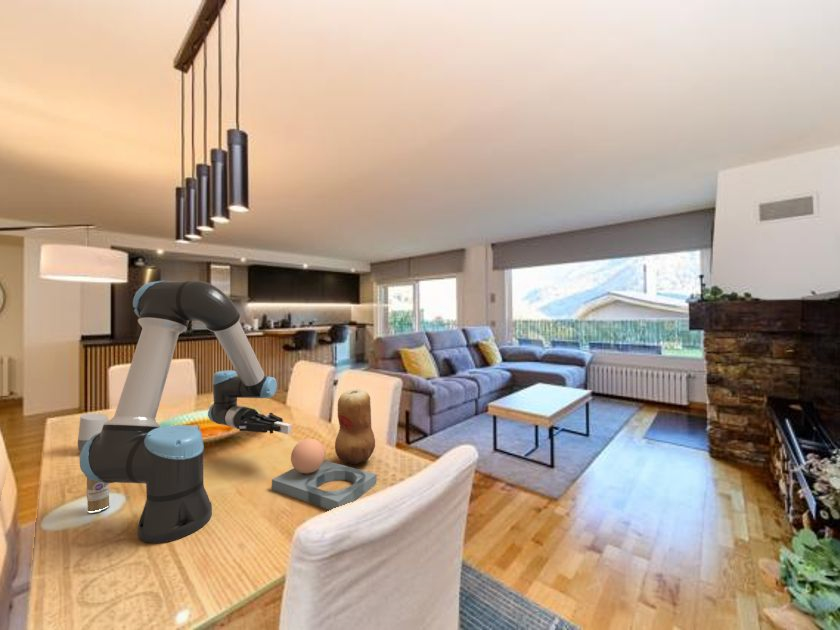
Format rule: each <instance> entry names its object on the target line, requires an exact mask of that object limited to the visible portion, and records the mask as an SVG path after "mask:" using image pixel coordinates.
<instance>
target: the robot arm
mask: <svg viewBox="0 0 840 630" xmlns="http://www.w3.org/2000/svg"><path fill="white" fill-rule="evenodd" d="M132 307H133V308H134V309H133V311H134V314H135V315H136V316H137V317H138V319H137V322H138V324H139V325H140V327H141V328H142V329H141V332H140V336H139V339H138V341H137V344H136V348H135V351H134V354H133V357H132V359H131V363H130V365H129V369H128V372H127V375H126V379H125V381H124V383H123V387H122V391H121V394H120V397H119V400H118V402H117V403H118V404H117V407H116V408H115V409H116V410H115V411H114V412H115V413H114V416H113V417H112V418H111V419H108V421H107V422H106V423H104V425H103V428H102V431H101V432H100V433H98V434H96V435H94V436H93V437H91V440H89V441H87V442H86V444H85V445H84V447H83V449H82V451H81V452H80V454H79V467H80V470H81V472H82V473H83V474H84V476H85V477H86V479H87V478H88V479H90V480H93V481H99V482H104V483H109V484H113V483H115V484H116V483H118V484H119V483H121V484H122V483H123V484H125V483H126V484H144V485H145V488H146V489H145V490H146V500H145V504H144V507H143V509H142V513H141V515H140V518H139V521H138V524H137V538H138V537H139V538H138V540H139V541H141V540H142V541H141V542H143V541H144V542H143V543H146V542H150V543H149V544H161V542H162V543H166V542H171V541H176V540H178V539H181V538H183V537H187V536H188V535H191V534H192V533H195V532H196V531H198V530H199V529H201V528H202V527H204V526H205V525H206V524H207V523H208V522H210V520H211V518H212V516H213V505H212V502H211V501H210V498H209V495H208V492H207V491H206V489H205V484H204V449H205V445H204V441H203V435H202V431H201V429H200V430H198V429H197V428H195V427H192V426H189V425H187V424H186V425H185V424H174V425H165V426H161V425H160V424H159V423H158V422H157V420H156V418H157V413H158V412H159V411H158V410H159V407H160V402H161V399H162V396H163V393H164V388H165V384H166V382H167V378H168V374H169V371H170V368H171V363H172V360H173V357H174V353H175V350H176V346H177V342H178V339H179V335H180V334H182V333H184V332H186V331H187V329H188V327H189V326H188V325H189V322H193V321H195V322H196V321H198V322H201V323H203V324H204V325H205V327H206V329H207V330H208V331H210V332H212V333H214V335H215V337H216V339H217V340H218V342H219V344H220V345H221V348H222V349H223V350H224V353H225V354H226V356H227V358H228V359H229V361H230V363H231V365H232V367H233V369H234V370H232V369H230V370H229V369H226V370H220V371H216V372H215V373H213V377H212V391H213V392H212V393H213V395H212V396H213V404H211V405H210V406H209V409H208V411H207V417H208V419H209V420H210V421H211V422H212V423H215V424H217V425H221V426H227V427H230V428H234V429H236V430H239V431H240V432H254V433H264V434H266V433H268V432H269V434H273V433H274V432H278V433H282V434H285V435H289V434H292V433H293V431H292V430H293V429H292V427H293V426H292V424H291V423H287V422H284V419H283V418H282V417H279V416H278V415H276V414H274V413H273V412H269V413H268V414H267V415H265V414H262V413H259V412H258V410H256V409H255V408H251V407H247V406H244V405H243V406H242V405H238V398H239V399H241V398H242V399H244V398H246V399H261V400H262V399H268V398H269V399H270V398H272V397H274V396H275V394H276V392H277V388H278V383H277V379H276V378H275V377H273V376H269V375H268V376H267V375H266V374H265V372H264V370H263V368H262V366H261V364H260V362H259V360H258V358H257V355H256V354H255V352H254V351H255V350H253V347H252V346H251V343H250V342H249V339H248V337H247V335H246V333H245V331H244V329H243V326H242V325H241V323H240V321H241V314H240V312H239V310H238V309H237V307H236V305H235V303H233V301H232V300H231V299H230V298H229V296H228V295H227V294H226V293H225V292H223V291H222V290H221V289H220V288H218V287H216V286H215V285H213V284H211V283H209V282H207V281H203V280H185V281H184V280H178V281H177V280H176V281H175V280H158V281H151V282H148V283H145V284H143V285H142V286H141V287H139V289H138V290H137V291H136V293H135V295H134V297H133V299H132Z"/></svg>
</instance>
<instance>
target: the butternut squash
mask: <svg viewBox="0 0 840 630" xmlns="http://www.w3.org/2000/svg"><path fill="white" fill-rule="evenodd" d="M371 407H372V406H371V396H370V395H369V392H367V391H366V390H364V389H361V388H359V389H358V388H357V389H350V390H346V391H344V392H342V394H341V395H340V396H339V398H338V400H337V419H338V425H339V430H338V433H337V434H336V435H337V436H336V439H335V442H334V444H335V445H334V450H335V454H336V456H337V457H338V458H339V460H341V461H343V462H346V464H347V463H348V464H351V465H358V464H359V463H361V462H367V461H368V460H369V458H371V456H372V454H373V453H374V450H375V447H376V439H375V434H374V431H373V429H372V408H371Z"/></svg>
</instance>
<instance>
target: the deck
mask: <svg viewBox="0 0 840 630" xmlns="http://www.w3.org/2000/svg"><path fill="white" fill-rule="evenodd" d="M377 480H378V479H377V473H373V472H369V471H366V470H361V469H359V468H355V467H351V466H348V465H344V464H339V463H337V462H332V461H328V460H325V459H324V462H323V464H322V465H321V466H320V468H319V469H317V470H316V471H314V472H312V473H308V474H304V473H300V472H298V471H297V470H296V469H295V468H294V467H293V468H291V469H289V470H288V471H286V472H283V473H281V474H280V475H278V476H276V477H274V478H271V490H272V491H276V492H278V493H281V494H284V495H285V496H289V497H292V498H295V499H298V500H301V501H303V502H306V503H309V504H312V505H314V506H317V507H320V508H322V509H326V510H328V511H331V509H333V508H336V507H339V506H342V505H345V504H347V503H350V502H352V503H354V502H355V501H356V500H357V499H359V498H360V497H362V496H363V495H364V494H366V493H367V492H368V491H370V490H371V489H372V488H374V487H375V486H376V485H377V484H376V483H377V482H378V481H377ZM333 481H348V482H351V483H352V484H351V485H349V486H348V487H345V488H342V489H337V490H323V489H321V488H319V487H320V486H322V485H324V484H325V483H331V482H333ZM375 484H376V485H375ZM374 485H375V486H374ZM371 487H372V488H371ZM370 488H371V489H370ZM353 501H354V502H353Z"/></svg>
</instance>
